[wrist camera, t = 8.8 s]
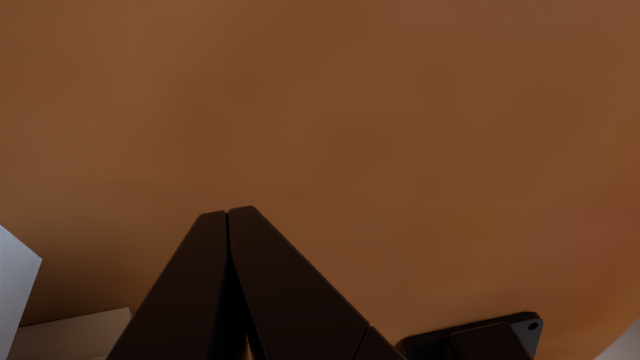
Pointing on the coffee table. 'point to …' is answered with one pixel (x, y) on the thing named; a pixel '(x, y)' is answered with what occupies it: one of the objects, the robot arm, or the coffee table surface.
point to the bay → (70, 337)
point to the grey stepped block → (14, 285)
